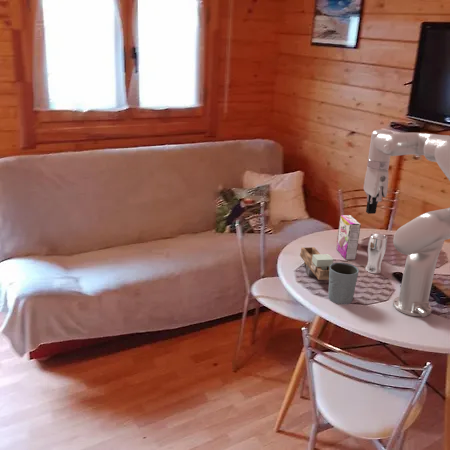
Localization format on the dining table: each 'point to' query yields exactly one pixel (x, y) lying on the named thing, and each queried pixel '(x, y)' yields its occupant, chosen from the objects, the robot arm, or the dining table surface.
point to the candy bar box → (348, 237)
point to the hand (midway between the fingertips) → (370, 212)
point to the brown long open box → (310, 266)
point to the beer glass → (376, 252)
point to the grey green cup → (342, 282)
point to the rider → (322, 260)
